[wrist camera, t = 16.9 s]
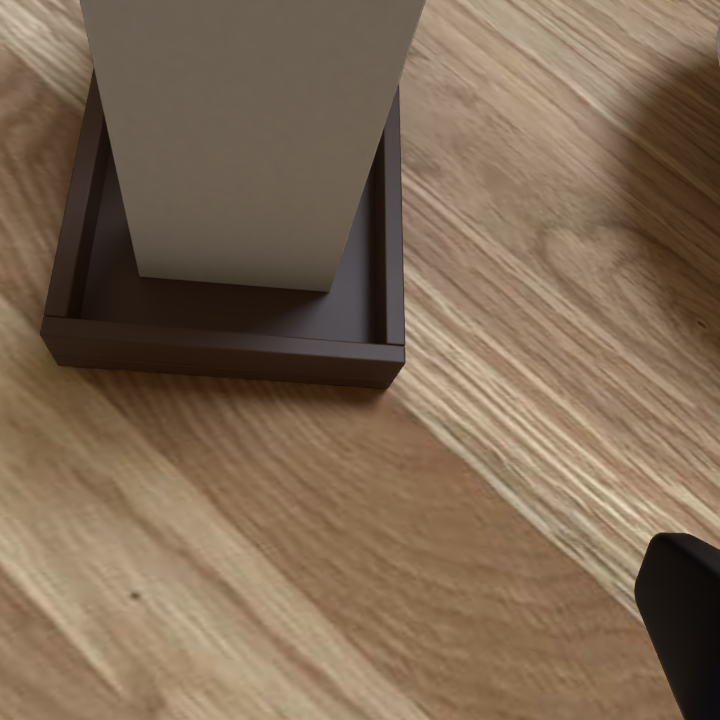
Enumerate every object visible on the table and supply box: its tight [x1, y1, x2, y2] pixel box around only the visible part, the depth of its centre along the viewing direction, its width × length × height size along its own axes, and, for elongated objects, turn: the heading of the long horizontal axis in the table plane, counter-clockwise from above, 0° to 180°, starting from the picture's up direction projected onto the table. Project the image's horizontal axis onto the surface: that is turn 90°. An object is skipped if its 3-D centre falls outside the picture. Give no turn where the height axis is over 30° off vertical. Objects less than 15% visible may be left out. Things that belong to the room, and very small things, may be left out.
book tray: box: [40, 69, 405, 389], centre depth 23 cm, size 17×10×2 cm, turn 0°
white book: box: [80, 0, 426, 292], centre depth 15 cm, size 2×6×15 cm, turn 91°
